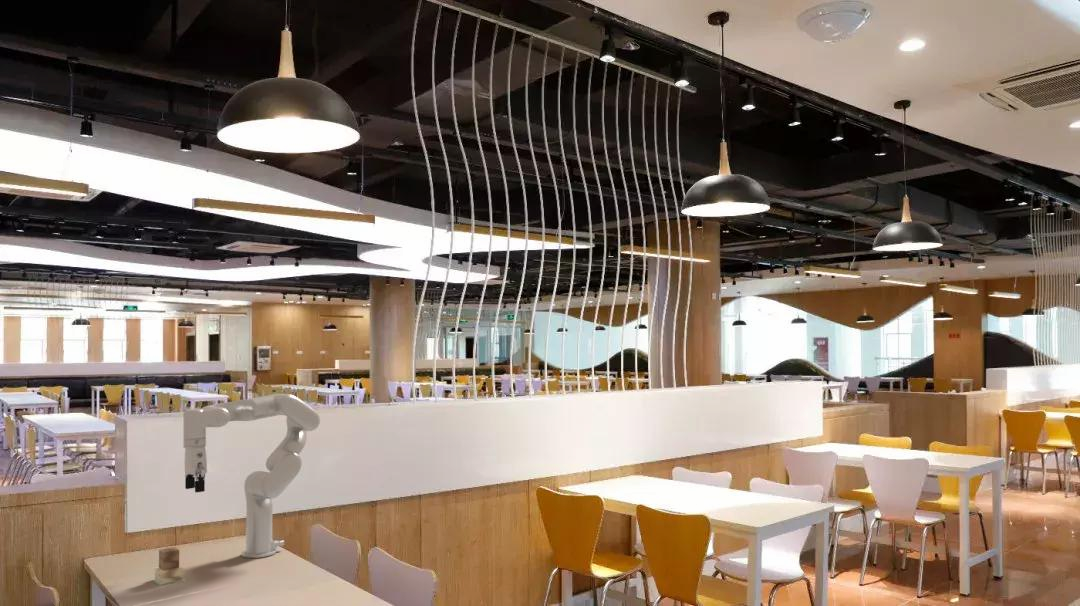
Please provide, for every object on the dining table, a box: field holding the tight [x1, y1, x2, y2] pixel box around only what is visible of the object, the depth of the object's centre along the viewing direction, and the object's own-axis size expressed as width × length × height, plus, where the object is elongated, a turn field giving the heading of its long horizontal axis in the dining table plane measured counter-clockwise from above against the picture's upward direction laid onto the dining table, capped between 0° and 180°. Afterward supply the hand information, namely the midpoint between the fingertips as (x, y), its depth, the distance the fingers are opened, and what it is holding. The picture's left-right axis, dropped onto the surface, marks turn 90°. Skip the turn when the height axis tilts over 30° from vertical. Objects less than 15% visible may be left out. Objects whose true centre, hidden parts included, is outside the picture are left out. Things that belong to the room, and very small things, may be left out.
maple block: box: [154, 564, 184, 585], centre depth 266 cm, size 7×7×4 cm
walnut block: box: [158, 546, 180, 571], centre depth 266 cm, size 5×5×6 cm
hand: (194, 490), depth 283 cm, fingers open, 9 cm apart
